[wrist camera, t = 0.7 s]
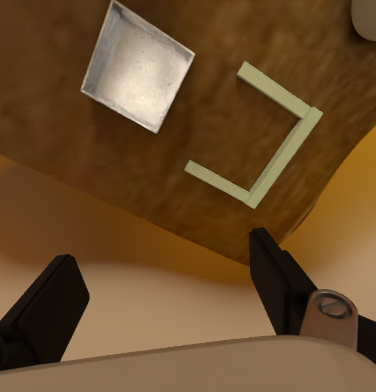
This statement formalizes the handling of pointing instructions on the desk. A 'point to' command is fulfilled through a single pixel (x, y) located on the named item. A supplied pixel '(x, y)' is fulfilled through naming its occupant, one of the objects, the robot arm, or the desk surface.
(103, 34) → the baking pan
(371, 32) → the teacup
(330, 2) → the desk surface
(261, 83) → the bracket
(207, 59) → the desk surface
